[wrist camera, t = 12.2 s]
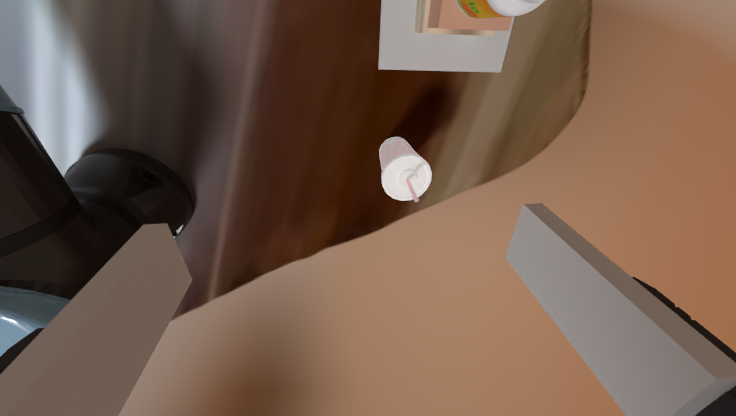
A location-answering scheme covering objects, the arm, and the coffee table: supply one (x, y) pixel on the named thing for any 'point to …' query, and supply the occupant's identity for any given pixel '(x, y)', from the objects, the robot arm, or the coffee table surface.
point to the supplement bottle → (497, 7)
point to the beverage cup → (403, 170)
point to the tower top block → (462, 18)
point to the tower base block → (422, 23)
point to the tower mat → (434, 44)
